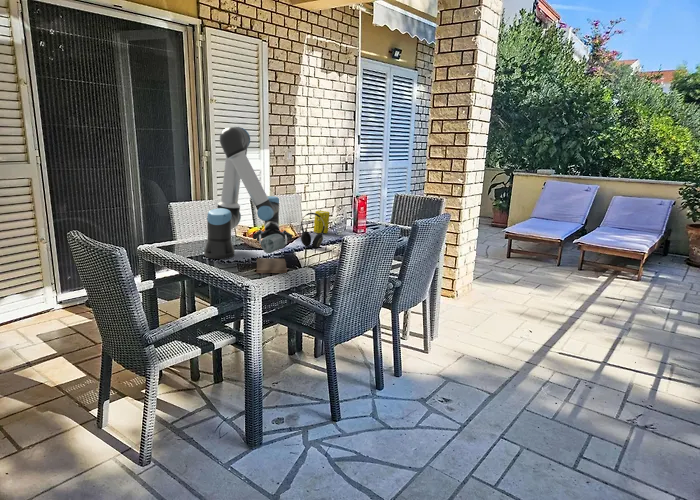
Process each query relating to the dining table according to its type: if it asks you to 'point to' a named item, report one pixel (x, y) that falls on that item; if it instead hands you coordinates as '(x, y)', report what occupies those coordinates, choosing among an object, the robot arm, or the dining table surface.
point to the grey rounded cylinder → (272, 243)
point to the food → (319, 223)
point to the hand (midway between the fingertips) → (273, 241)
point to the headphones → (307, 238)
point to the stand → (271, 265)
